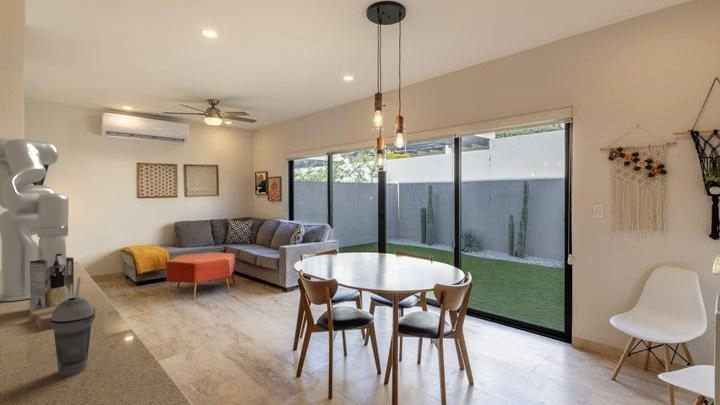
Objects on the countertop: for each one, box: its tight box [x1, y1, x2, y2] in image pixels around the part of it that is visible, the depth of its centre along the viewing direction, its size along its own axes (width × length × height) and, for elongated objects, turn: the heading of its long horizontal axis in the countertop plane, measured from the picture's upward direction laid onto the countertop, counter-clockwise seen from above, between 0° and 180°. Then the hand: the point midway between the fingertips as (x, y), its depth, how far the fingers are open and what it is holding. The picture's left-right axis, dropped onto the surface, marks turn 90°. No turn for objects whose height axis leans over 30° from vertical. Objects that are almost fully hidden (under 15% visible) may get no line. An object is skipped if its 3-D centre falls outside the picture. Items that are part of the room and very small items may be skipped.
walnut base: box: [28, 306, 96, 331], centre depth 104 cm, size 12×12×3 cm
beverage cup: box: [51, 277, 96, 377], centre depth 74 cm, size 7×7×20 cm
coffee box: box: [29, 256, 75, 311], centre depth 114 cm, size 9×6×16 cm
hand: (52, 285), depth 114 cm, fingers closed on coffee box, 8 cm apart
